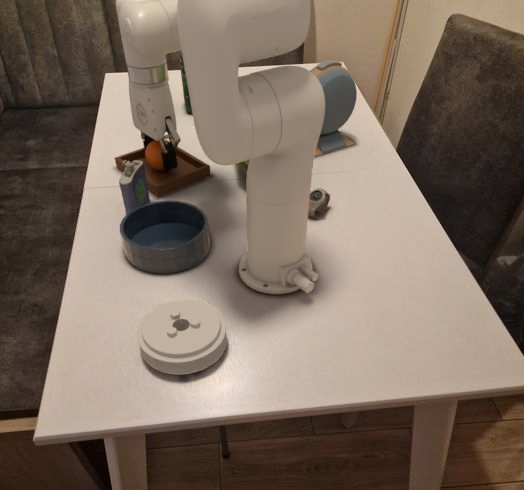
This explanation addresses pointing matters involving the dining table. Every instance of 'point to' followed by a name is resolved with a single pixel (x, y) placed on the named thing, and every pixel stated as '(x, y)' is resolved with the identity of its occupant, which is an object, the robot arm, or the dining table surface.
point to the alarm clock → (335, 104)
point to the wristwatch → (318, 202)
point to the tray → (169, 171)
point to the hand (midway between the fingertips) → (161, 162)
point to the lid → (182, 336)
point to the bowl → (165, 236)
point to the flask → (134, 185)
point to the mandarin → (155, 155)
